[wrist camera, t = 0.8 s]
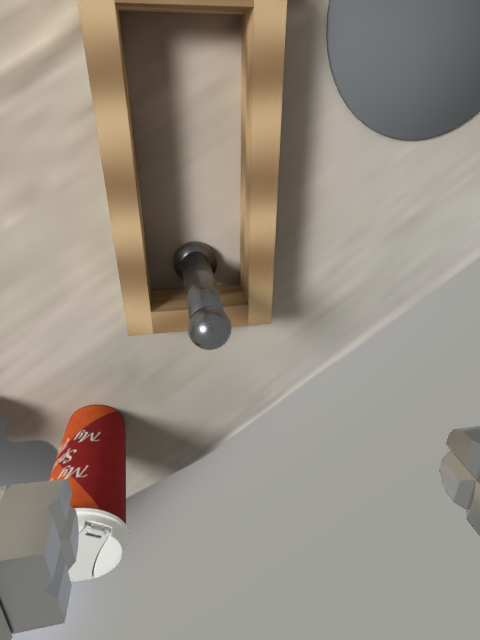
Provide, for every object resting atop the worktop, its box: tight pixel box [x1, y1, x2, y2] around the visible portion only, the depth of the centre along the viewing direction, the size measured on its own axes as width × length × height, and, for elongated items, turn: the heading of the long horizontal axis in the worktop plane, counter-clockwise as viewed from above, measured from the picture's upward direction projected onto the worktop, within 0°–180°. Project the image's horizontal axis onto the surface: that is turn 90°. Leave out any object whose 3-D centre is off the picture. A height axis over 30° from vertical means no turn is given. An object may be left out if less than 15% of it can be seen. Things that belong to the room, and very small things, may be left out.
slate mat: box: [326, 0, 480, 140], centre depth 30 cm, size 16×16×1 cm
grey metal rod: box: [174, 242, 231, 350], centre depth 31 cm, size 4×4×13 cm
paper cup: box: [49, 405, 130, 581], centre depth 38 cm, size 8×8×14 cm
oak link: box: [77, 0, 287, 336], centre depth 31 cm, size 24×12×4 cm, turn 0°
